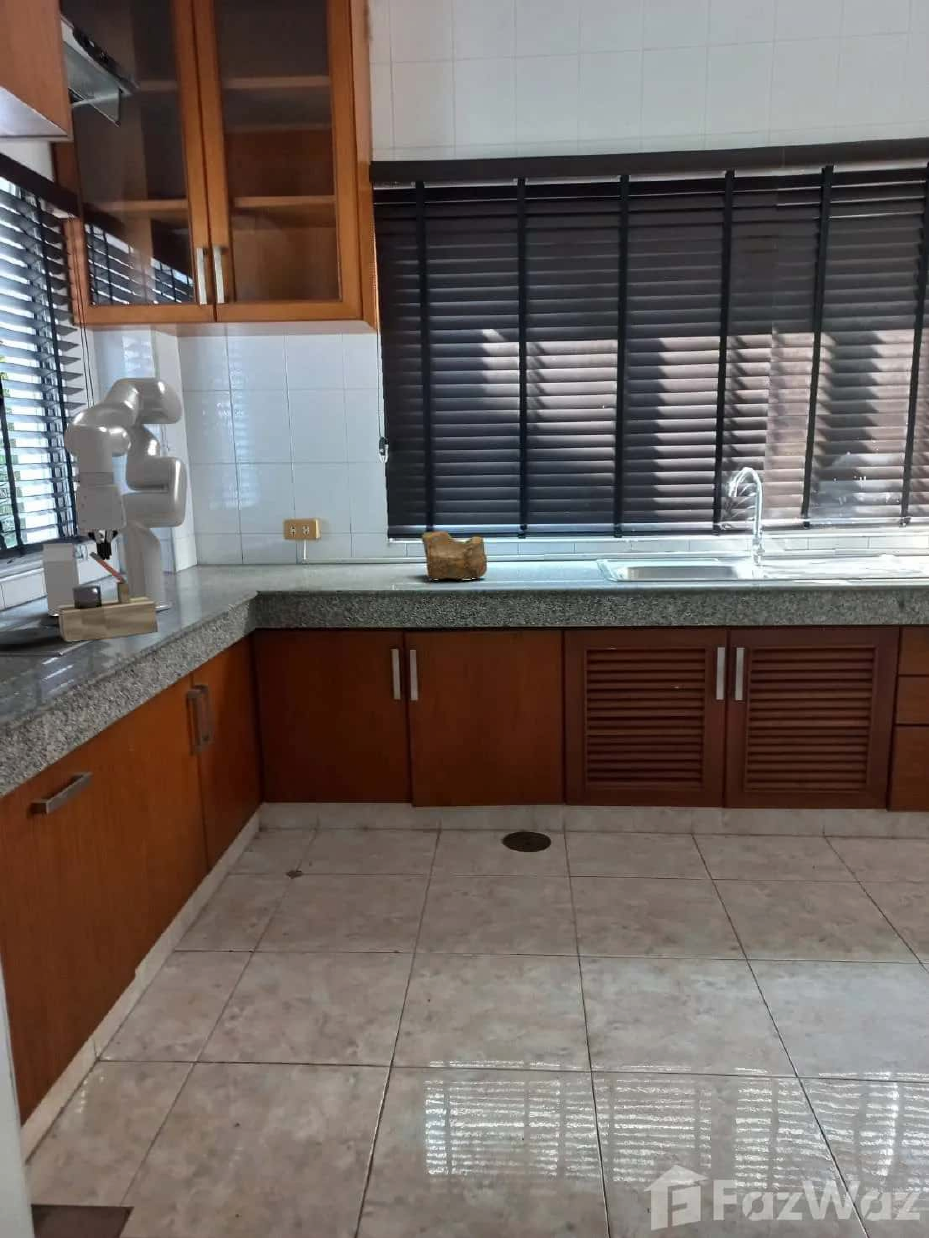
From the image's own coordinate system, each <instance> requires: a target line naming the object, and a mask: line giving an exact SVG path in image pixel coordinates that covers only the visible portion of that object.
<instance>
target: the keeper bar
mask: <svg viewBox="0 0 929 1238" xmlns="http://www.w3.org/2000/svg"><path fill="white" fill-rule="evenodd" d="M89 553H90V554H89V555H88V556H89V557H90V558H92V559H93V560H94V561H96V562H97V563H98V564H99V565H101V567H103V568H104V569H105V570H106V571H108V573H110V574H111V575H112V576H113V577H114V578H115V579H117V580H118V582H122V583H126V582H127V579H125V578H124V577H123V576H122V575H121V574H120V573H119V572H117V570H115V569H114V568H113V567H112V566H111V565H109V564H108V563H107V562H106V560H102V559H101V557H99V556H98V555H97V552H94V551H91V552H89Z"/></svg>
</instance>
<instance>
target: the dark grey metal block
mask: <svg viewBox="0 0 929 1238" xmlns="http://www.w3.org/2000/svg"><path fill="white" fill-rule="evenodd" d="M72 590H73V599H74V608H76V609H90V608H97V607H101V606H102V601H103V597H102V590H101V586H100V585H96V584H95V585H82V586H81V585H79V587H74V588H72Z"/></svg>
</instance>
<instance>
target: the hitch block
mask: <svg viewBox="0 0 929 1238" xmlns="http://www.w3.org/2000/svg"><path fill="white" fill-rule="evenodd" d="M115 584H116V591H117V592H116V593H117V599H113V600H104V601H103V600H102V606H101V607H97V608H90V609H76V608H74V605H64V606H58V615H59V617H58V622H59V629H60V631H59V632H60V636H61V637H62V638H63V640H64V641H65V642H66V641H67V642H70V641H74V640H81V639H95V640H101V639H110V638H116V637H117V638H118V637H123V636H124V637H127V636H133V635H141V634H142V633H143V634H150V633H157V632H159V628H158V616H157V615H158V614H157V611H156V604H155V602H153V601H151V600H150V599H148V598H146V597H140V598H131V599H130V591H129V583H127V582H126V583H122V582H121V581H117V582H116V583H115ZM149 632H150V633H149ZM67 642H66V643H67Z"/></svg>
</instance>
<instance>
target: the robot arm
mask: <svg viewBox="0 0 929 1238" xmlns="http://www.w3.org/2000/svg"><path fill="white" fill-rule="evenodd" d="M182 417H183V406H182V402H181V399H180V398H179V396H178V394H177V393H176V392H175V391H174V389H173V388H172V387H171V386H170V385H169V384H168V383H167V382H166V381H165V380H163V379H161V378H158V377H123V378H120V379H118V380H116V381H115V382H114V383H113V384H112V386H111V387H110V389H109V391H108V392H107V394H106V397H104V399H103V401H102V402H99V403H96V404H94V405H91V406H90V407H87V408H85V409H83V410H82V411H79V412H78V413H76V414H75V415H73V416H72V418H71V419H70V421H69V423H68V424H67V427H66V429H65V431H64V435H63V443H64V447H65V449H66V451H67V453H68V454H70V455H71V456H72V457H75V458H76V466H77V468H76V469H77V474H76V475H73V476H71V482H72V483H75V484H76V483H77V484H78V486H77V487H76V492H75V519H76V525H77V533H76V534H77V535H78V536H80V537H81V536H82V537H86V538H89V539H91V540H92V541H93V542H94V543H95V547H96V554H97V555H98V556H99V557H101V559H102V560H104V561H106V560H107V561H110V560H111V556H112V555H113V551H112V550H113V549H112V542H113V540H114V539H115V538H116V537H117V536H118V535H121V538H122V545H123V546H122V547H123V556H124V565H125V566H124V567H125V576H126V581H127V583H129V591H130V599H131V598H140V597H146V598H148V599H150V600H151V601H153V602H155V604H156V612H158V611H163V610H164V611H165V610H168V609H170V608H172V607H173V602H172V601H170V600H166V590H165V589H166V588H165V577H164V567H163V566H164V565H163V555H162V545H161V542H160V540H159V538H158V536H157V535H155V533H154V532H153V531H152V530H151V529H154V528H155V529H156V528H157V529H158V528H176V527H180V526H181V525H183V523H184V521H185V517H186V510H187V507H186V505H187V494H188V493H187V491H188V472H187V468H186V465H185V463H184V461H183V460H182V459H180V458H179V457H176V456H161V449H162V448H161V443H160V441H159V439H158V438H157V437H156V436H155V434H153V433H152V432H151V430H149V428H147V427H146V426H145V425H172V424H173V425H174V424H177V423H178V422H180V420H181V419H182ZM125 455H126V463H125V476H124V477H125V483H126V486H127V488H128V489H130V490H132V491H133V492H132V491H131V492H127V493H124V494H122V493H121V489H120V486H119V485H115V473H114V463H113V458H120V457H122V456H125ZM100 531H104V539H102V536H101V533H100Z"/></svg>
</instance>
